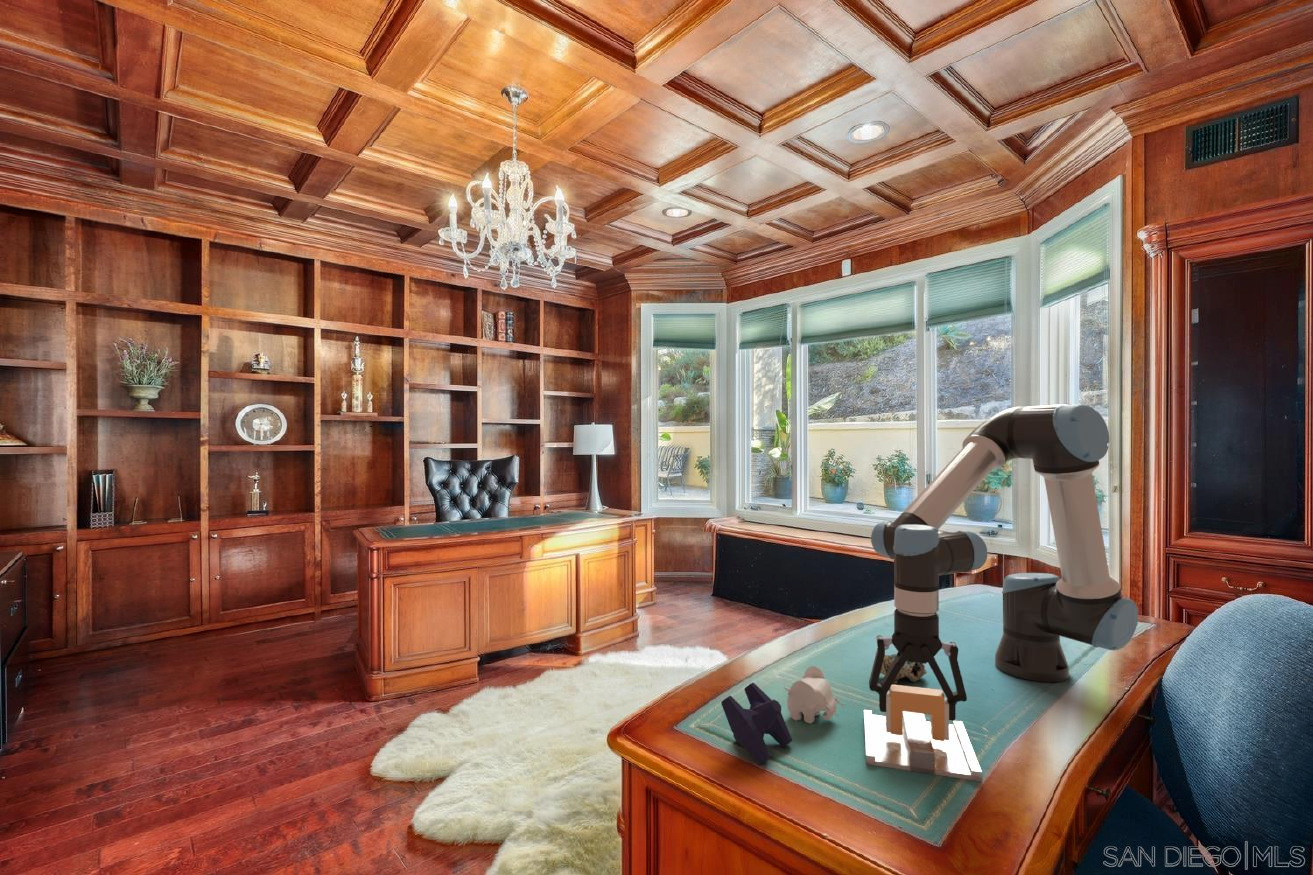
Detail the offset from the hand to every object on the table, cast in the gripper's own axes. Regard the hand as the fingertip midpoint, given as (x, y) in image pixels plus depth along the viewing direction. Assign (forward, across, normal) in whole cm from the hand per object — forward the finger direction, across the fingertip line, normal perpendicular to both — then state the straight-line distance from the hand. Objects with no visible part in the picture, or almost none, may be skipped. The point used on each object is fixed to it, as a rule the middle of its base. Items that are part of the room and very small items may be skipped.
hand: (916, 732), depth 110 cm
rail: (+2, 0, 0) cm, 2 cm away
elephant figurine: (+3, +19, -6) cm, 20 cm away
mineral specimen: (+3, 0, -32) cm, 32 cm away
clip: (0, 0, 0) cm, 0 cm away
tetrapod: (+3, +28, +9) cm, 29 cm away
